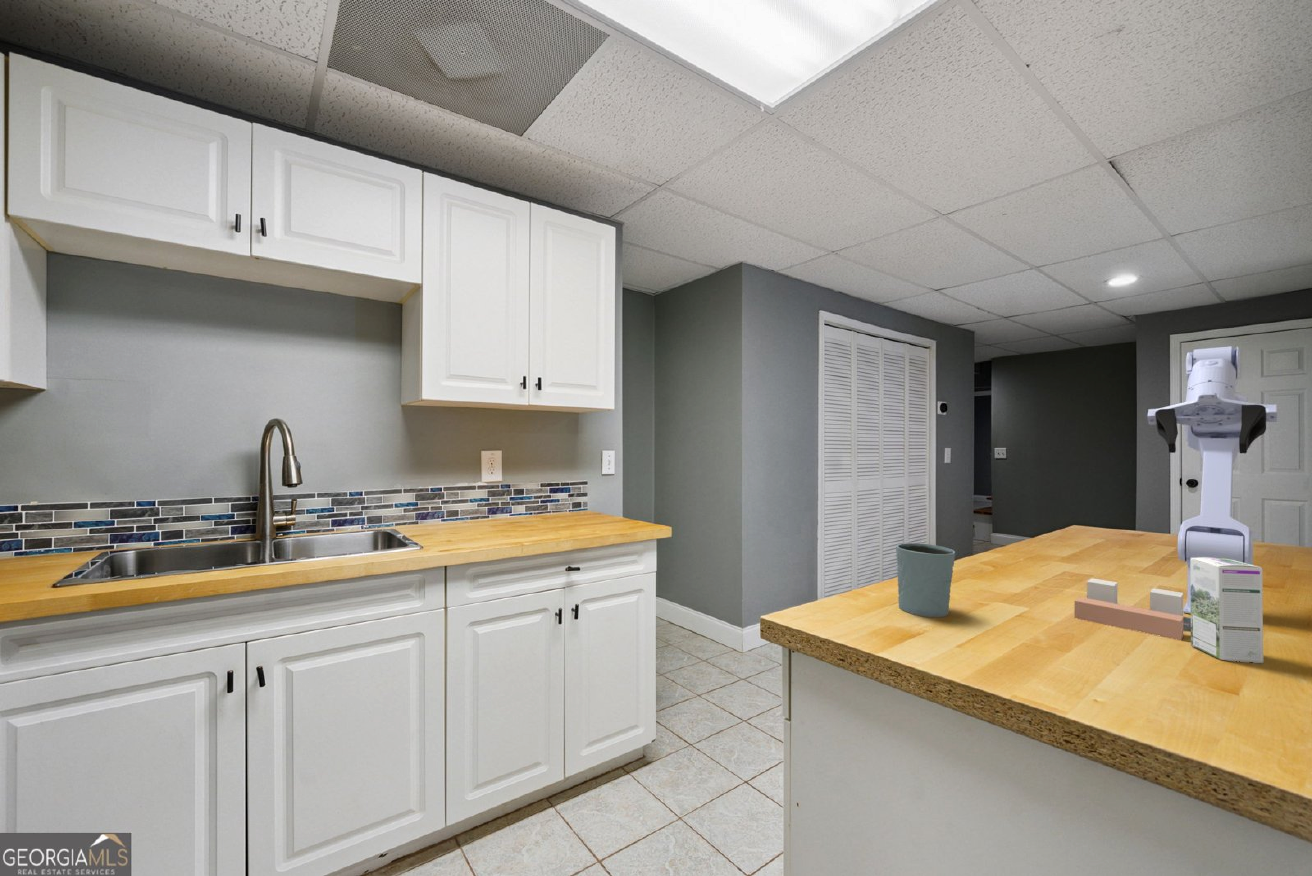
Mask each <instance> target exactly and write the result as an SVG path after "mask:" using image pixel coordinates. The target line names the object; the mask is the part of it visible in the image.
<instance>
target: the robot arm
mask: <svg viewBox="0 0 1312 876" xmlns="http://www.w3.org/2000/svg"><path fill="white" fill-rule="evenodd" d="M1240 373H1241V350H1240V348H1239V346H1236V347H1235V348H1233V346H1231V345H1230V346H1219V347H1210V348H1197V349H1196V348H1195V349H1193V352H1192V351H1191V352H1189V351H1188V352H1187V354H1186V358H1185V374H1186V378H1187V379H1186V381H1187V385H1186V387H1187V388H1186V395H1185V401H1184V402H1180V403H1177V404H1176V403H1175V404H1172V405H1168V406H1163V407H1160V408H1150V409H1149V408H1148V410H1147V411H1148V412H1147V421H1148V422H1147V423H1148V425H1152V426H1153V425H1156V429H1157V433H1158V435H1159V436H1160V437H1162V438H1163V440H1164V441H1165V442H1166V444H1167V446H1168V452H1169V453H1170V454H1172V453H1174V454H1175V453H1176V452H1177V447H1176V442H1177V441H1176V440H1177V438H1178V435H1179V432H1178V431H1179V429H1178V425H1184V431H1185V442H1186V443H1187V447H1188V448H1191V449H1193V450H1196V451H1198V453H1199V454H1200V456H1201V460H1202V477H1201V480H1202V481H1201V490H1200V491H1201V492H1200V493H1201V495H1200V496H1201V497H1200V511H1199V512H1200V513H1199V515H1196V516H1194V517H1191V518H1188V519H1186V520H1183V521H1182V522H1181V523H1182V524H1180V525H1179V526H1180V527H1179V532H1178V534H1177V558H1178V559H1179V560H1181V562H1183V563H1184V562H1185V565H1186V566H1187V590H1186V591H1187V596H1186V597H1187V598H1186V599H1187V600H1186V602H1185V604H1184V605H1183V613H1186V614H1191V579H1190V559H1191V558H1200V557H1213V558H1224V559H1231V560H1235V561H1239V562H1243V563H1247V564H1251V565H1254V539H1253V531H1252V530H1251V528H1250V527H1249V526H1248V525H1245V524H1244V523H1242V522H1240V521H1238V520H1236V519H1235V518H1233V517H1232V515H1233V512H1232V511H1233V510H1232V509H1233V508H1232V507H1233V506H1232V505H1233V477H1234V476H1233V475H1234V474H1233V473H1234V463H1235V461H1236V459H1237V456H1238V454H1247V452H1248V449H1250V448H1251V447H1252V443H1254V441H1255V440H1256V439H1258V438H1259V437H1261V436H1262V435H1264V434H1265V433H1266V430H1267V423H1277V422H1278V404H1267V403H1266V404H1263V403H1262V404H1261V403H1256V402H1248V401H1249V399H1248V397H1246V396H1243V395H1239V394H1236V387H1237V385H1238V379H1239V376H1240V375H1241V374H1240Z"/></svg>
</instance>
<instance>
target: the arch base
mask: <svg viewBox="0 0 1312 876" xmlns="http://www.w3.org/2000/svg"><path fill="white" fill-rule="evenodd" d="M1118 590H1119V589H1118V582H1116V581H1111V580H1105V579H1099V578H1093V577H1091V578H1090V579H1088V580H1087V582H1086V598H1088V599H1094V600H1099V601H1104V602H1110V603H1115V604H1118ZM1149 593H1150V594H1149V610H1152V611H1158V612H1163V613H1168V614H1174V615H1179V616H1183V631H1185V632H1189V631H1190V630H1191V617H1188V616H1184V612H1183V609H1184V592H1180V591H1172V590H1167V589H1160V588H1154V587H1153V588H1151V590H1150V591H1149Z"/></svg>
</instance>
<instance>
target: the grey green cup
mask: <svg viewBox="0 0 1312 876" xmlns="http://www.w3.org/2000/svg"><path fill="white" fill-rule="evenodd" d="M895 550H896V551H895V552H896V566H897V568H896V570H897V582H898V583H897V587H898V588H897V591H898V599H897V600H898V607H899V609H900V610H901V611H904V613H908V614H912V615H915V616H920V617H926V618H927V617H928V618H941V617H946V616H948V614H949V609H950V600H951V599H950V597H951V587H952V581H953V580H952V579H953V572H954V565H955V559H956V558H955V557H956V551H955V550H953V549H951V548H948V547H946V546H942V545H941V546H939V545H934V544H929V543H928V544H927V543H917V542H912V543H911V542H906V543H905V542H904V543H897V544H896V545H895Z"/></svg>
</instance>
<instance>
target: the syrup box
mask: <svg viewBox="0 0 1312 876" xmlns="http://www.w3.org/2000/svg"><path fill="white" fill-rule="evenodd" d="M1190 579H1191V613H1190V618H1191V626H1190V646H1191V647H1193V648H1195V649H1198V650H1199V651H1201V652H1204V653H1205V654H1208V655H1210V656H1212V657H1214V658H1215V659H1218V660H1220V661H1228V662H1236V661H1237V663H1249V662H1253V663H1252V664H1263V663H1264V623H1263V622H1264V621H1263V620H1264V619H1263V618H1264V616H1263V615H1264V610H1263V607H1264V606H1263V604H1264V602H1263V599H1264V598H1263V596H1264V595H1263V594H1264V593H1263V590H1264V589H1263V588H1264V587H1263V586H1264V585H1263V582H1264V581H1263V567H1262V566H1258V565H1254V564H1253V565H1251V564H1247V563H1243V562H1239V561H1235V560H1231V559H1224V558H1213V557H1200V558H1191V559H1190ZM1239 661H1240V662H1239Z"/></svg>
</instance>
